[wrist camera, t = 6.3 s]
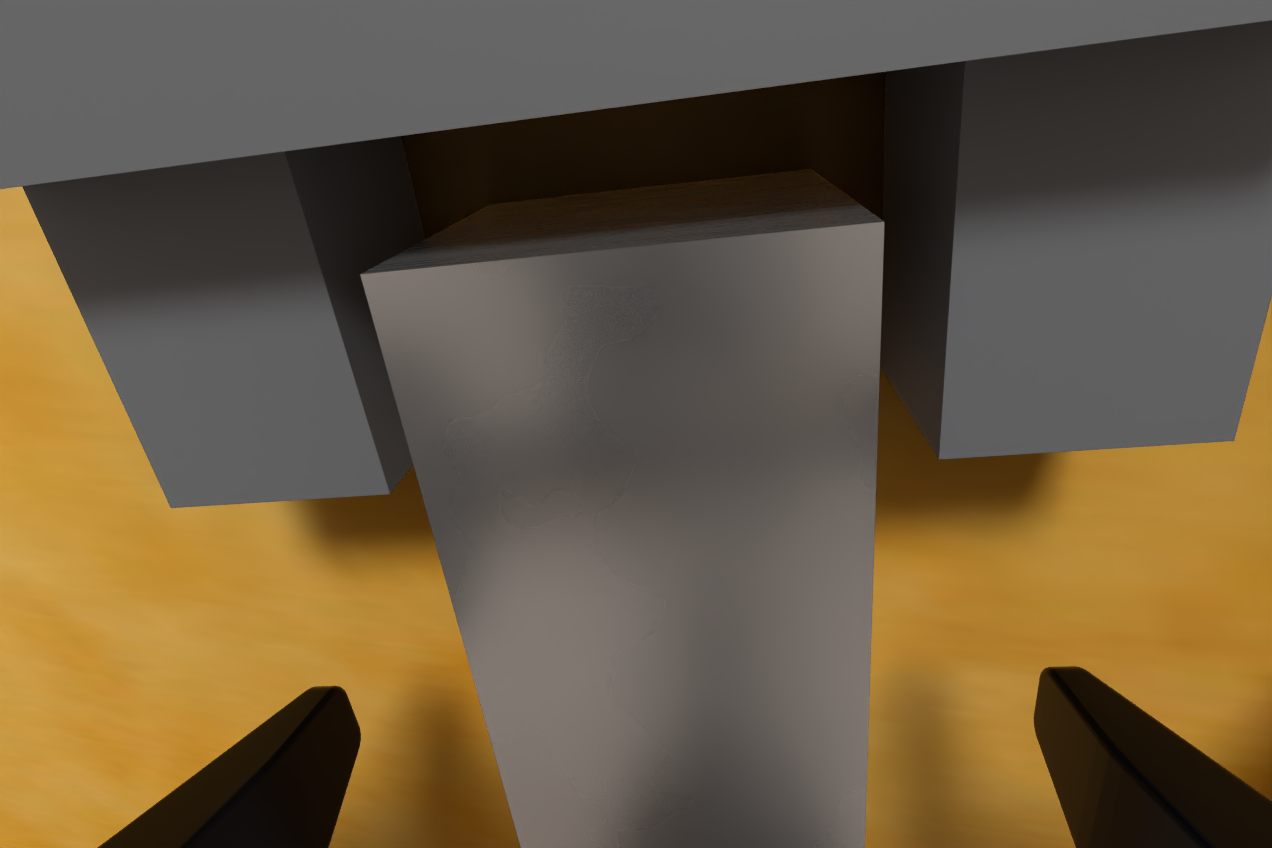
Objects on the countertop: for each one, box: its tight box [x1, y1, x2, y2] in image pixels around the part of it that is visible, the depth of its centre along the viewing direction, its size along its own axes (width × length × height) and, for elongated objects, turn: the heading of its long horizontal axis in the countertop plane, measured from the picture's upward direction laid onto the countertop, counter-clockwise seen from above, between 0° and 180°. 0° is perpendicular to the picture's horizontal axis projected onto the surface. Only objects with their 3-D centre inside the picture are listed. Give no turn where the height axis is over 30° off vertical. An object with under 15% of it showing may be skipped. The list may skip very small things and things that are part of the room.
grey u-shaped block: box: [0, 0, 1272, 508], centre depth 8 cm, size 6×12×4 cm, turn 97°
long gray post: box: [360, 169, 884, 848], centre depth 10 cm, size 12×4×4 cm, turn 7°
